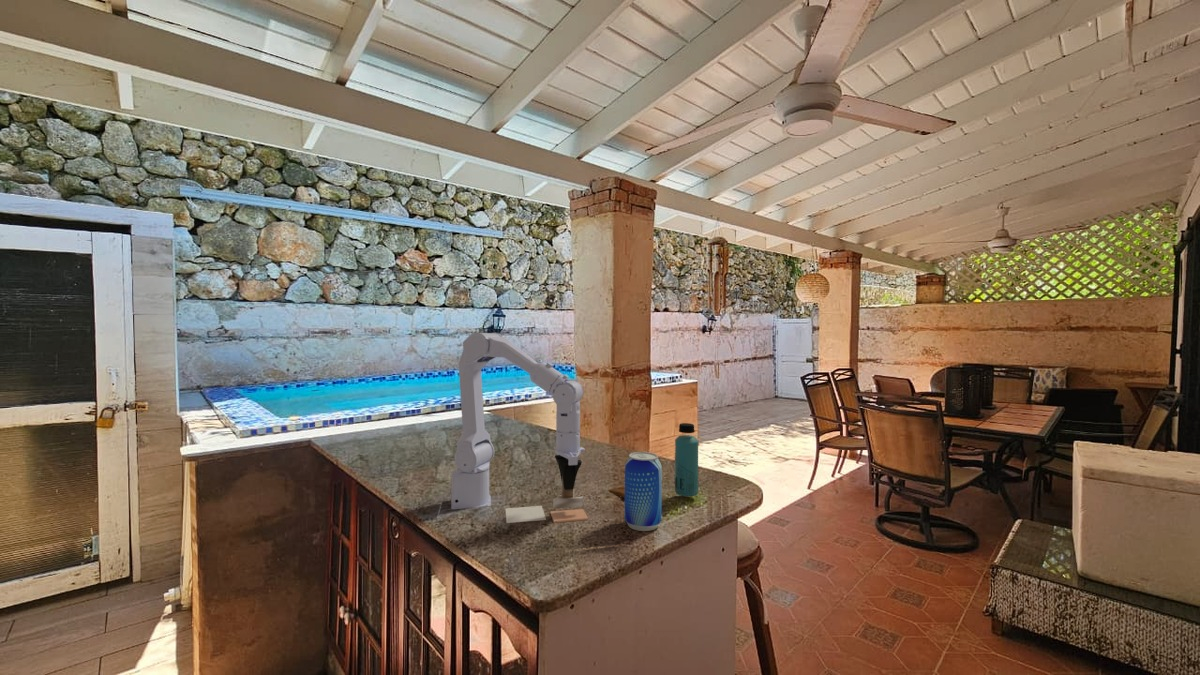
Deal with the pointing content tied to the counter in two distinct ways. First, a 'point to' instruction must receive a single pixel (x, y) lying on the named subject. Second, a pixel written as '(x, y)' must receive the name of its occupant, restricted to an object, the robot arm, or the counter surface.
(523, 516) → the mat
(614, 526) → the counter surface
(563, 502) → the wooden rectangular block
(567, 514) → the tile
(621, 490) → the primitive tool
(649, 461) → the beer can
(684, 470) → the beverage bottle
